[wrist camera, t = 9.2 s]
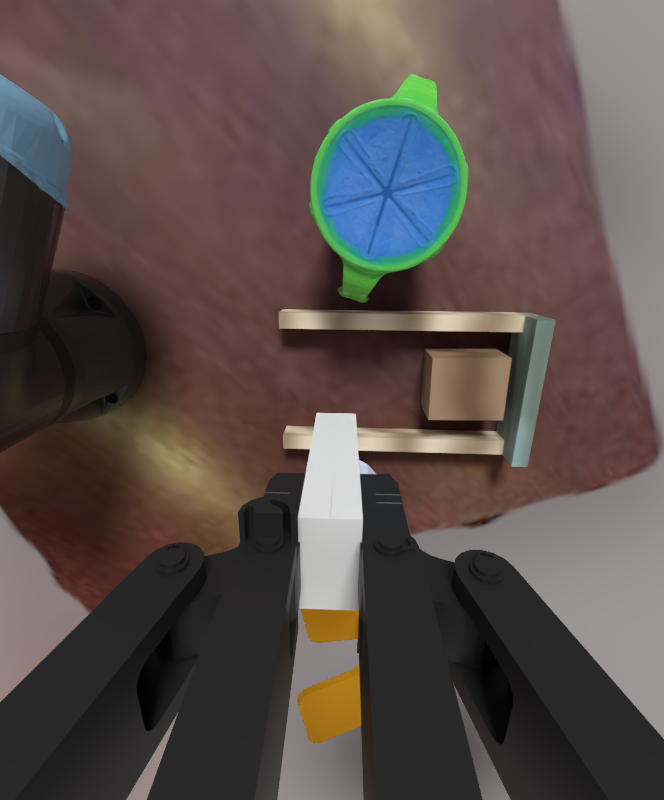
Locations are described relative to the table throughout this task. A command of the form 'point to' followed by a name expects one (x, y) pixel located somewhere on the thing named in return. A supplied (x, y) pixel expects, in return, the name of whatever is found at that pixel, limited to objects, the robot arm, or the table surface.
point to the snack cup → (388, 186)
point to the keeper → (465, 383)
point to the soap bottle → (339, 696)
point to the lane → (525, 341)
